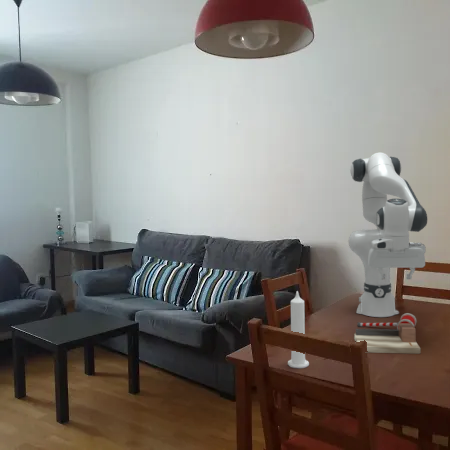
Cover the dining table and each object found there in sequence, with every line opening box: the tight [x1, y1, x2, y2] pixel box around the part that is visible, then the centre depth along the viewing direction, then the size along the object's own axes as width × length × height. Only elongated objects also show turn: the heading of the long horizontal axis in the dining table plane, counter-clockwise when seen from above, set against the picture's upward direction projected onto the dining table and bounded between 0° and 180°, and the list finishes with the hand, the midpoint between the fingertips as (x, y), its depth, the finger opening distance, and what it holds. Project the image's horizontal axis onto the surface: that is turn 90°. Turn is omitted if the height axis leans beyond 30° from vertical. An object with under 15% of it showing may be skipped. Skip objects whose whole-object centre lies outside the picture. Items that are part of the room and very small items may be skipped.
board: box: [353, 328, 421, 355], centre depth 183 cm, size 16×21×4 cm
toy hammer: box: [356, 312, 417, 330], centre depth 204 cm, size 23×12×6 cm, turn 65°
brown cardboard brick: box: [399, 323, 417, 342], centre depth 184 cm, size 7×4×5 cm, turn 171°
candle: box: [287, 290, 310, 369], centre depth 166 cm, size 7×7×25 cm
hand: (395, 279), depth 186 cm, fingers open, 8 cm apart
